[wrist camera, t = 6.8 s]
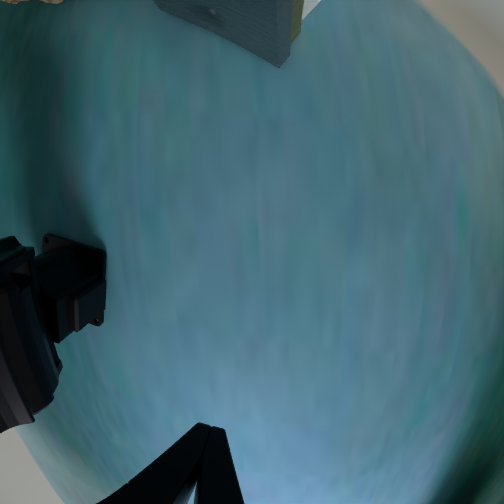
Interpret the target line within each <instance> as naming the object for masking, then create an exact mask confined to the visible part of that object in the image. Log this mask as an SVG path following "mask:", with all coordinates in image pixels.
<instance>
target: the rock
mask: <svg viewBox="0 0 504 504" xmlns="http://www.w3.org/2000/svg"><path fill="white" fill-rule="evenodd" d="M2 1H4V2H7V3H13V4H18V3H19V2H21V1H23V0H2ZM27 1H29V0H27ZM41 1H44V2H45V3H54V4H58V3H61V2H63V0H41Z"/></svg>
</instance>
